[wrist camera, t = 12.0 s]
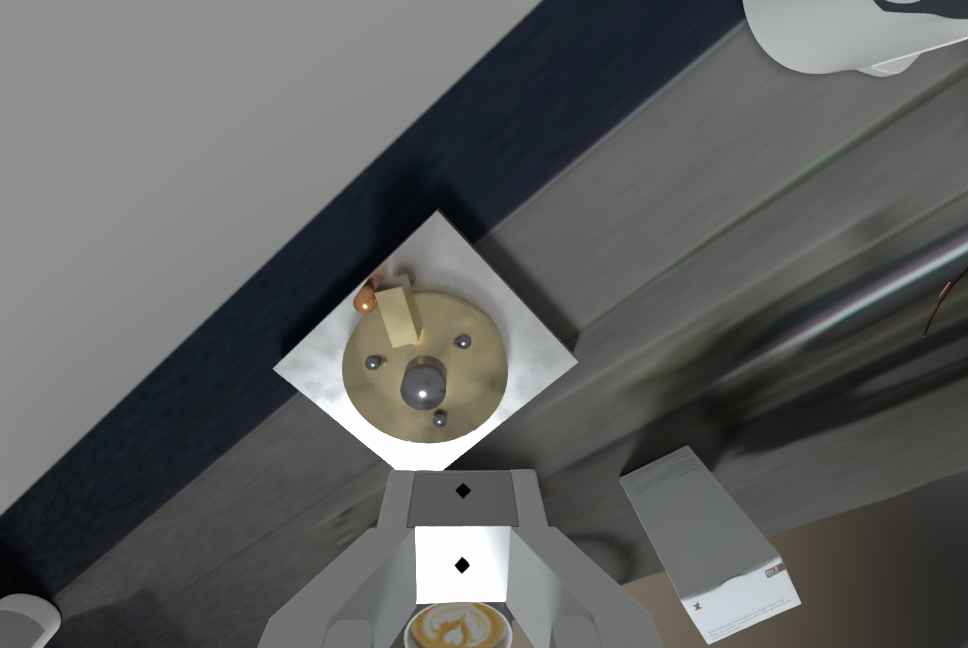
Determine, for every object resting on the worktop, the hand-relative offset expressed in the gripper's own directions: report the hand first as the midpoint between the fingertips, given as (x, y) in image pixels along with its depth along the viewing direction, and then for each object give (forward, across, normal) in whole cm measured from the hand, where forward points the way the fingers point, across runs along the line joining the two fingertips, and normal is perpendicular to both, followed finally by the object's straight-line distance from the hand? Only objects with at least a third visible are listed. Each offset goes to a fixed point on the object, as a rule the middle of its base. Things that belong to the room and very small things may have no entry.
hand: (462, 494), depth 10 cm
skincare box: (+31, -22, +25) cm, 46 cm away
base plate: (+31, +3, +11) cm, 33 cm away
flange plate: (+29, +3, +10) cm, 31 cm away
